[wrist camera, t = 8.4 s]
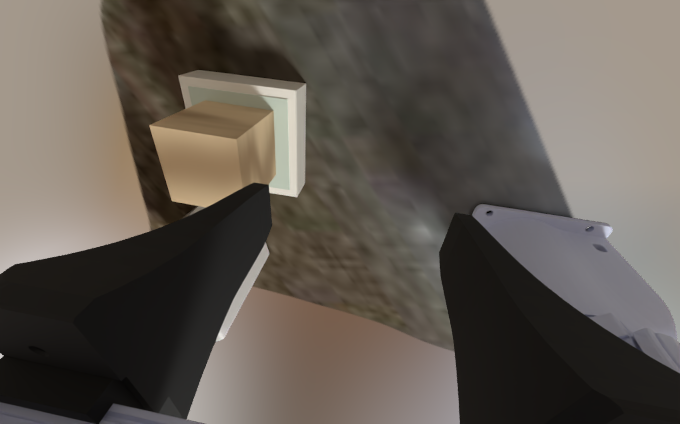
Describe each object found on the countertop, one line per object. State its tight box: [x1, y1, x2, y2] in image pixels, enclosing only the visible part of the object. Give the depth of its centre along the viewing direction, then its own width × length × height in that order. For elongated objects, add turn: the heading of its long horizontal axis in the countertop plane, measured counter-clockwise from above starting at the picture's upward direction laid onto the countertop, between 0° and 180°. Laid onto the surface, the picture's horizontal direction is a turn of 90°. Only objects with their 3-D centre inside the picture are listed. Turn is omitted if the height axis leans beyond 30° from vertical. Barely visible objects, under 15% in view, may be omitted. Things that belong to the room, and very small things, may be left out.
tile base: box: [178, 70, 306, 197], centre depth 20 cm, size 8×8×2 cm
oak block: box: [149, 100, 276, 207], centre depth 17 cm, size 4×4×5 cm
